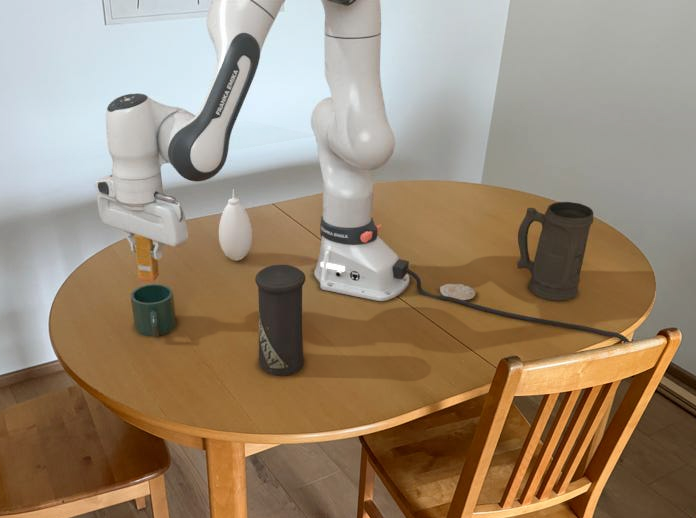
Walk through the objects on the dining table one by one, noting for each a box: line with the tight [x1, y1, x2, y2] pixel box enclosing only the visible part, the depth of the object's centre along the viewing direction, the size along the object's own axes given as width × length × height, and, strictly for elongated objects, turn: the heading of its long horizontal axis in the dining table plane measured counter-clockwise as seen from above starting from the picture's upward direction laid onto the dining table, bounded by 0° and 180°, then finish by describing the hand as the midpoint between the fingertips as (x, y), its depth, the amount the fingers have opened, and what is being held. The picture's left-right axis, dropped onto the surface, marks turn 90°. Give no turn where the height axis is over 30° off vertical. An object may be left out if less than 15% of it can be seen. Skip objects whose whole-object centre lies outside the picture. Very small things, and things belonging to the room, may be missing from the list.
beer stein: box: [516, 201, 594, 302], centre depth 159 cm, size 15×11×20 cm
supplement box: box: [135, 234, 160, 283], centre depth 140 cm, size 3×3×10 cm
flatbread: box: [439, 283, 476, 301], centre depth 161 cm, size 8×8×1 cm
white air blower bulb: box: [218, 188, 253, 262], centre depth 170 cm, size 8×8×18 cm
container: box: [254, 264, 306, 377], centre depth 132 cm, size 9×9×20 cm
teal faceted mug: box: [130, 283, 177, 339], centre depth 146 cm, size 12×8×8 cm
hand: (147, 254), depth 140 cm, fingers closed on supplement box, 4 cm apart
